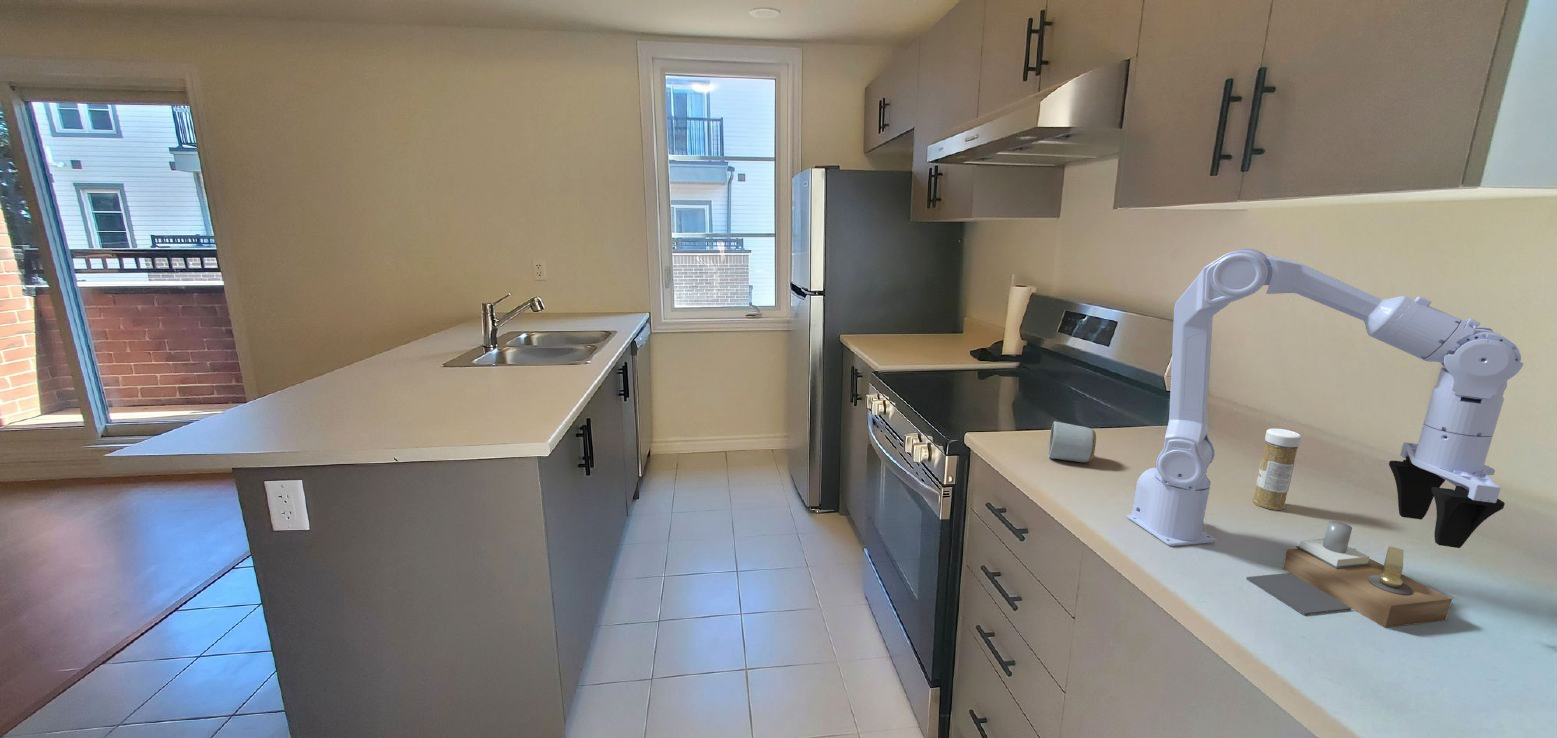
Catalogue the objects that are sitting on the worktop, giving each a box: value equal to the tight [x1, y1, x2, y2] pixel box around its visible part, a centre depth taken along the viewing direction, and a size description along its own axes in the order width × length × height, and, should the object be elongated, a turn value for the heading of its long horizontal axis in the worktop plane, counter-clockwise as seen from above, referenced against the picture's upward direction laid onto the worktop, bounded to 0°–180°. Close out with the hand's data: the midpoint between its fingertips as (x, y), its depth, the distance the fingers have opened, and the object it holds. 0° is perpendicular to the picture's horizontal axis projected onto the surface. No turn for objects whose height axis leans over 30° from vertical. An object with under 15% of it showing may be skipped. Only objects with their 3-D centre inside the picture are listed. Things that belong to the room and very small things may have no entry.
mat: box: [1245, 572, 1352, 616], centre depth 80 cm, size 8×7×1 cm
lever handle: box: [1379, 545, 1404, 588], centre depth 78 cm, size 7×2×3 cm, turn 134°
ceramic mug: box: [1047, 420, 1097, 463], centre depth 126 cm, size 11×8×8 cm
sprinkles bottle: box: [1252, 428, 1302, 511], centre depth 104 cm, size 5×5×13 cm
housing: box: [1282, 545, 1453, 628], centre depth 80 cm, size 13×9×3 cm
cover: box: [1299, 520, 1370, 566], centre depth 83 cm, size 5×5×4 cm
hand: (1428, 530), depth 77 cm, fingers open, 7 cm apart
